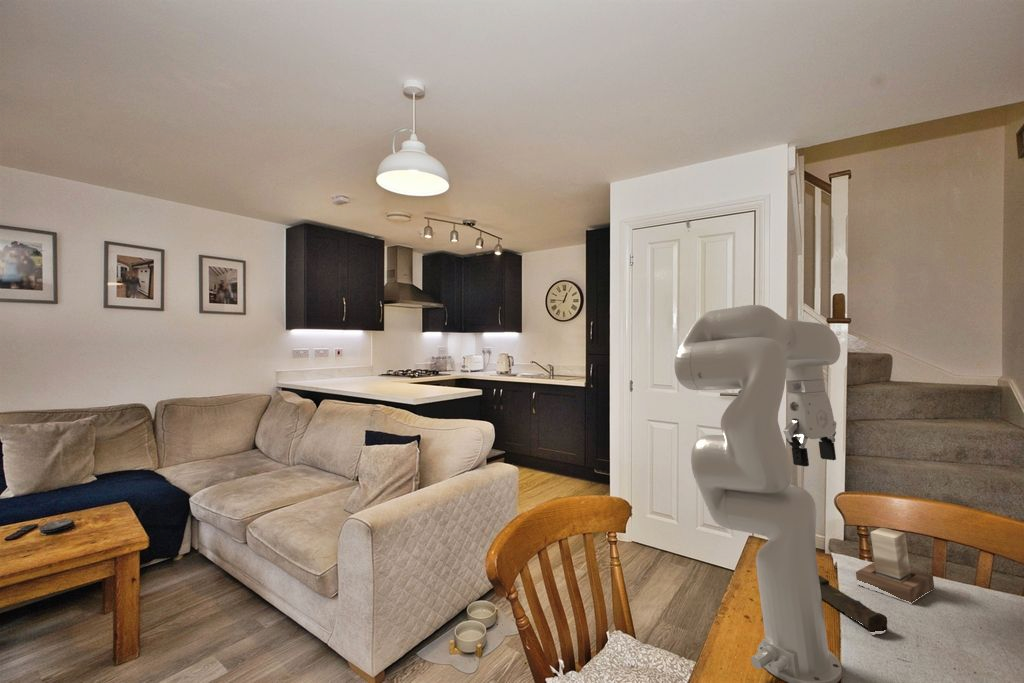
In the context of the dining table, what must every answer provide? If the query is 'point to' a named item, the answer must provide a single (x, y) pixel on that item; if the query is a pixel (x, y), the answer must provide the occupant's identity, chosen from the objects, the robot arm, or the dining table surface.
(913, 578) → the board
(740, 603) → the dining table surface
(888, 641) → the dining table surface
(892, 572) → the peg
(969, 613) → the dining table surface
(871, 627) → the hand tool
